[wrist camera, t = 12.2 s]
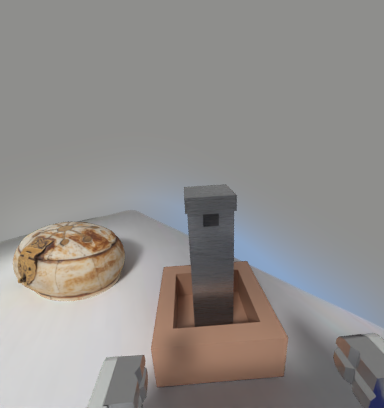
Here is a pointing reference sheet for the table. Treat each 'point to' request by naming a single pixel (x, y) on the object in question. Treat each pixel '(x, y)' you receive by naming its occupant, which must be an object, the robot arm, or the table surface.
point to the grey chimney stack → (211, 252)
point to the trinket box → (69, 261)
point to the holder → (216, 334)
